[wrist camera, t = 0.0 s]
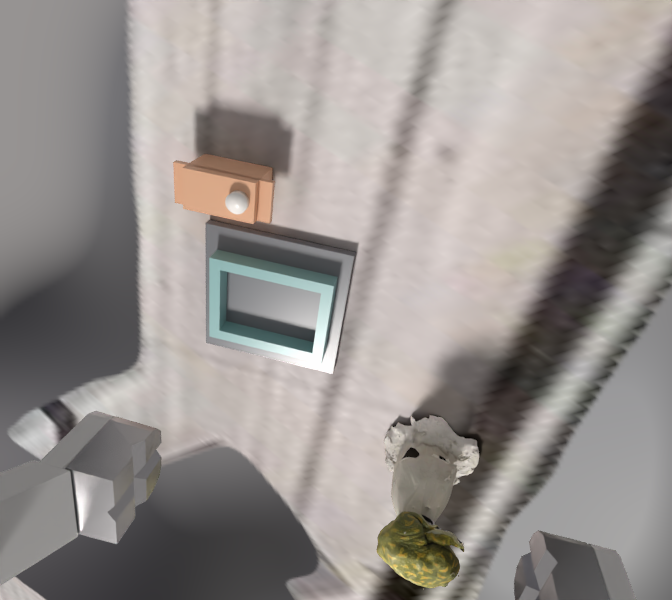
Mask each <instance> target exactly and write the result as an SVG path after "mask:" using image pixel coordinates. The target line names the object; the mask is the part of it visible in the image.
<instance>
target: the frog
mask: <svg viewBox="0 0 672 600" xmlns="http://www.w3.org/2000/svg"><path fill="white" fill-rule="evenodd" d="M411 425H412V426H404V425H403V424H400V423H399V422H398V423H397V425H396V428H395V427H392V426H391V428H390V431H388V432H387V434H386V436H387V437H386V439H385V440H384V445H385V455H386V459H385V462H386V465H387V466H388V469H389V470H390V471H392V472H393V479H392V490H391V497H392V502H393V506H394V510H395V512H396V515H397V518H396V519H395V520H393V521H391V522H390V523H389V524H388V525H387V526H385V527H384V528H383V529H382V530H381V531H380V534H379V535H378V546H377V553H378V555H379V556H380V557H381V558H382V559H383V560H384V561H385V562H386V563H387V564H389V565H390V566H391V568H392V569H394V570H395V572H396V573H397V574H399V575H400V576H402V577H403V578H405V579H407V580H409V581H411V582H412V583H414V584H417V585H420V586H423V587H427V588H434V587H437V586H443V587H446V586H447V585H448V583H449V582H450V581H451V580H453V579H454V578H455V577H456V576H457V574H458V572H459V569H460V564H459V560H458V558H457V557H456V555H455V553H454V552H453V550H452V549H451V547H450V546H449V545H453V546H455V547H458V548H460V549H461V550H462V551H463V552H464V546H463V544H464V543H462V542H460V541H459V540H458V538H457V537H456V536H455V535H454V534H453V533H451V532H449V531H444V530H442V529H440V528H438V526H437V525H435V524H434V523H435V521H436V520H437V518H438V517H439V516H440V514H441V513H442V511H443V510H444V508H445V506H446V505H447V503H448V500H449V498H450V495H451V492H452V487H453V485H454V484H457V483H459V482H460V481H459V480H458V479H457V478H459V477H460V476H464V475H469V473H470V474H471V473H472V472H473V471H474V470H473V469H474V468H475V467H476V466H477V464H478V460H479V450H478V447H477V440H474V439H471V438H470V439H468V438H467V439H465V438H464V437H460V436H458V435H456V433H454V432H453V431H452V429H451V427H449V425H448V424H447V422H446V421H445V420H444V419H443V418H442V417H436V416H433V415H432V416H431V415H430V418H429V419H427V418H423V419H421V420H419V421H415V419H414V418H412V416H411ZM410 447H412V448H415V449H416V450H417V451H418V452H419V456H418V457H417V458H413V457H406V458H403V457H404V455H405V453H406V452H407V451H408V449H409V448H410ZM439 456H442V457H443V458H445V459H446V461H445V460H443V459H440V458H439ZM402 458H403V459H402ZM456 479H457V481H455V480H456ZM458 576H459V575H458ZM459 577H460V576H459Z"/></svg>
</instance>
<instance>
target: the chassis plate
mask: <svg viewBox="0 0 672 600" xmlns="http://www.w3.org/2000/svg"><path fill="white" fill-rule="evenodd" d="M355 253H356V252H353V251H348V250H344V249H339V248H335V247H330V246H326V245H321V244H317V243H312V242H308V241H303V240H299V239H294V238H290V237H285V236H281V235H276V234H272V233H267V232H263V231H258V230H254V229H249V228H245V227H240V226H236V225H231V224H227V223H222V222H218V221H213V220H209V221H208V222H207V223H206V343H209V344H213V345H217V346H221V347H225V348H229V349H234V350H238V351H242V352H246V353H250V354H254V355H258V356H262V357H266V358H270V359H274V360H278V361H282V362H286V363H290V364H294V365H298V366H302V367H306V368H310V369H314V370H318V371H322V372H326V373H330V374H333V372H334V369H335V363H336V358H337V352H338V347H339V341H340V336H341V330H342V325H343V319H344V314H345V308H346V303H347V297H348V292H349V286H350V281H351V275H352V270H353V264H354V259H355Z"/></svg>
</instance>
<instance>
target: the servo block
mask: <svg viewBox="0 0 672 600" xmlns="http://www.w3.org/2000/svg"><path fill="white" fill-rule="evenodd" d="M173 164H174V189H175V203H179V204H183V209H187V210H191V211H196V212H201V213H205V214H210V215H214V216H219V217H223V218H228V219H232V220H237V221H241V222H246V223H250V224H254V223H255V222H256V221H261V222H265V223H271V221H272V211H273V198H274V184H275V181H272V171H273V168H272V167H267V166H262V165H257V164H253V163H248V162H243V161H238V160H233V159H229V158H224V157H219V156H214V155H209V154H204V155H202V156H200V157H199V158H197V159H195V160H194V161H192V162H191V163H187V162H182V161H177V160H176V161H175V162H173Z"/></svg>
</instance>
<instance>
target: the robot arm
mask: <svg viewBox="0 0 672 600" xmlns="http://www.w3.org/2000/svg"><path fill="white" fill-rule="evenodd" d="M160 444H161V431H160V430H159V429H157V428H153V427H150V426H147V425H143V424H140V423H137V422H133V421H130V420H126V419H123V418H120V417H115V416H112V415H108V414H105V413H102V412H98V411H94V412H92V413H89V414H88V415H86V416H85V417H84V418H83V419H82V420H81V421H80V422H79V423H78V424H77V425H76V426H75V427H74V428H73V429H72V430H71V431H70V432H69V433H68V434H67V435H66V436H65V437H64V438H63V439H62V440H61V441H60V442H59V443H58V444H57V445H56V446H55V447H54V448H53V449H52V450H51V451H50V452H49V453H48V454H47V455H46V456H45V457H44V458H43V459H42V460H41V461H40V462H38V461H34V460H32V461H30V462H27V463H25V464H22V465H19V466H17V467H14V468H12V469H9V470H7V471H4V472H2V473H0V585H2V584H4V583H5V582H7V581H8V580H10V579H12V578H13V577H15V576H16V575H18V574H19V573H21V572H23V571H24V570H26V569H27V568H29V567H30V566H32V565H33V564H35V563H37V562H38V561H40V560H42V559H43V558H44V557H46V556H48V555H49V554H51V553H52V552H54V551H56V550H57V549H59V548H60V547H62V546H64V545H65V544H67V543H68V542H70V541H71V540H73V539H75V538H76V537H77V536H78V534H80V535H84V536H88V537H92V538H96V539H99V540H103V541H108V542H111V543H115V544H117V543H118V542H119V540H120V539H121V537H122V536H123V534H124V533H125V531H126V530H127V529H128V527H129V525H130V524H131V523H132V521H133V520H134V518H135V506H137V505H139V504H141V503H142V502H144V501H146V500H147V499H148V497H149V496H150V494H151V493H152V491H153V489H154V487H155V485H156V483H157V480H158V478H159V475H160V470H161V456H160V455H159V453H158V452H157V450H156V449H157V448H158V446H159V445H160ZM529 544H530V550H531V552H530V553H528V554H526V555H523V556H522V557H521V559H520V561H519V563H518V565H517V569H516V574H515V579H514V595H515V600H636V597H635V595H634V592H633V589H632V586H631V584H630V581H629V579H628V576H627V573H626V571H625V568H624V565H623V563H622V560H621V557H620V556H619V554H618V553H617V552H616V551H615V550H611V549H607V548H603V547H600V546H596V545H592V544H587V543H585V542H581V541H577V540H574V539H570V538H565V537H562V536H558V535H554V534H550V533H546V532H542V531H537V532H535V533H534V534H533V536H532V537H531V539H530V541H529Z"/></svg>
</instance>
